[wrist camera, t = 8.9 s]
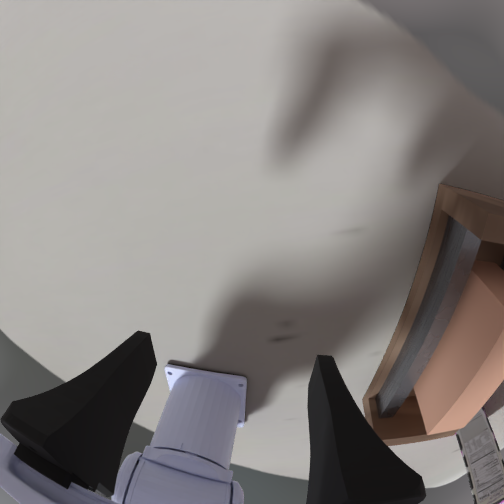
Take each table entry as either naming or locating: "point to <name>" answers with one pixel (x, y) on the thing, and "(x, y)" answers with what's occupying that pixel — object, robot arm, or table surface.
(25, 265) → the table surface
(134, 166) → the table surface
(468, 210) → the track base
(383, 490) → the robot arm
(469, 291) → the salmon orange block
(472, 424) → the candy bar box
